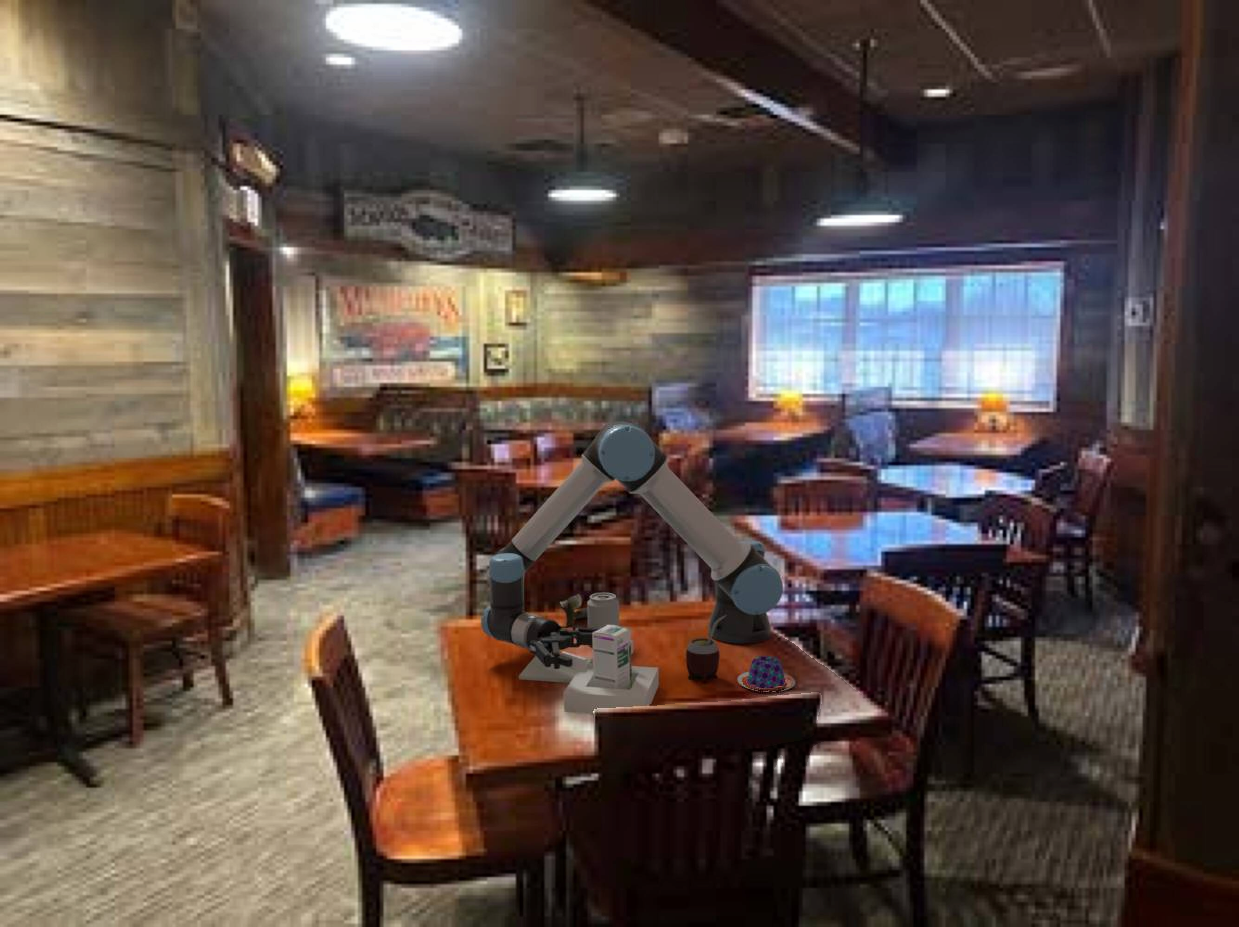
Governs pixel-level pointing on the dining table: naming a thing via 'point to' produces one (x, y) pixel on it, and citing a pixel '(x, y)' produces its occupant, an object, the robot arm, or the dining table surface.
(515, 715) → the dining table surface
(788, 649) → the dining table surface
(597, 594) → the can
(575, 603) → the artificial flower
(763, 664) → the pudding
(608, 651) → the syrup box
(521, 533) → the robot arm
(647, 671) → the bore block
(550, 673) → the sage tile
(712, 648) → the mate gourd
